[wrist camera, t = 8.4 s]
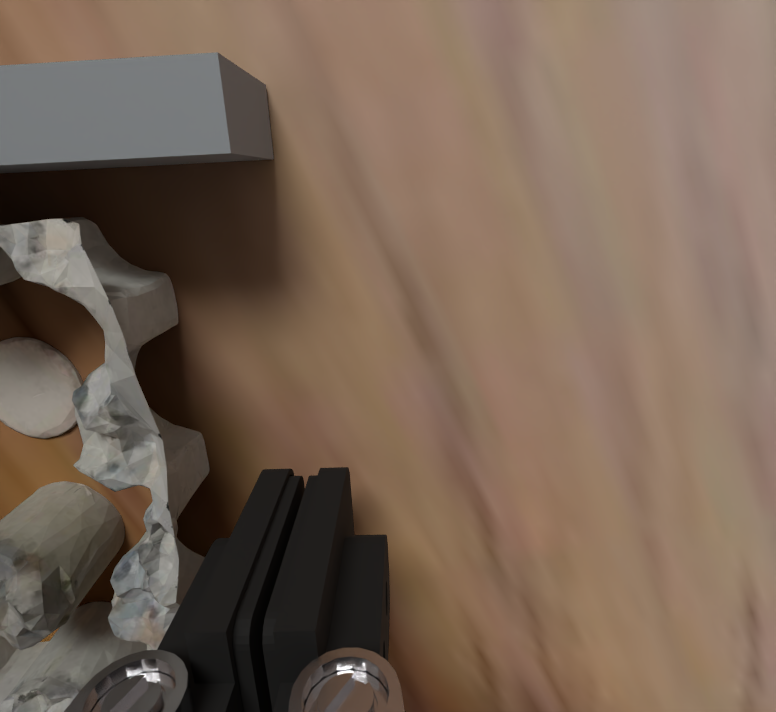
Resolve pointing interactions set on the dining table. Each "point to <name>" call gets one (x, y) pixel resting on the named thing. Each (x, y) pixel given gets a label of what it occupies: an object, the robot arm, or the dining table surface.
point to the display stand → (131, 113)
